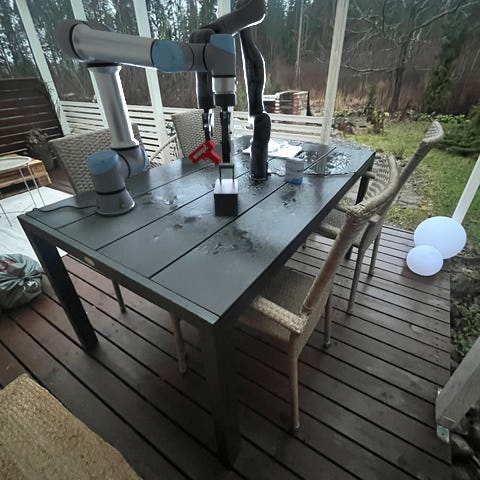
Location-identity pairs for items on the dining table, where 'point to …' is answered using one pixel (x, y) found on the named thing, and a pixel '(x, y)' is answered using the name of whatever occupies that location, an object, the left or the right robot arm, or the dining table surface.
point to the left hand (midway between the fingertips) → (227, 157)
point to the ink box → (294, 170)
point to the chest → (226, 205)
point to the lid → (226, 184)
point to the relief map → (280, 150)
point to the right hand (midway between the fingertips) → (209, 138)
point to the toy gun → (205, 153)
